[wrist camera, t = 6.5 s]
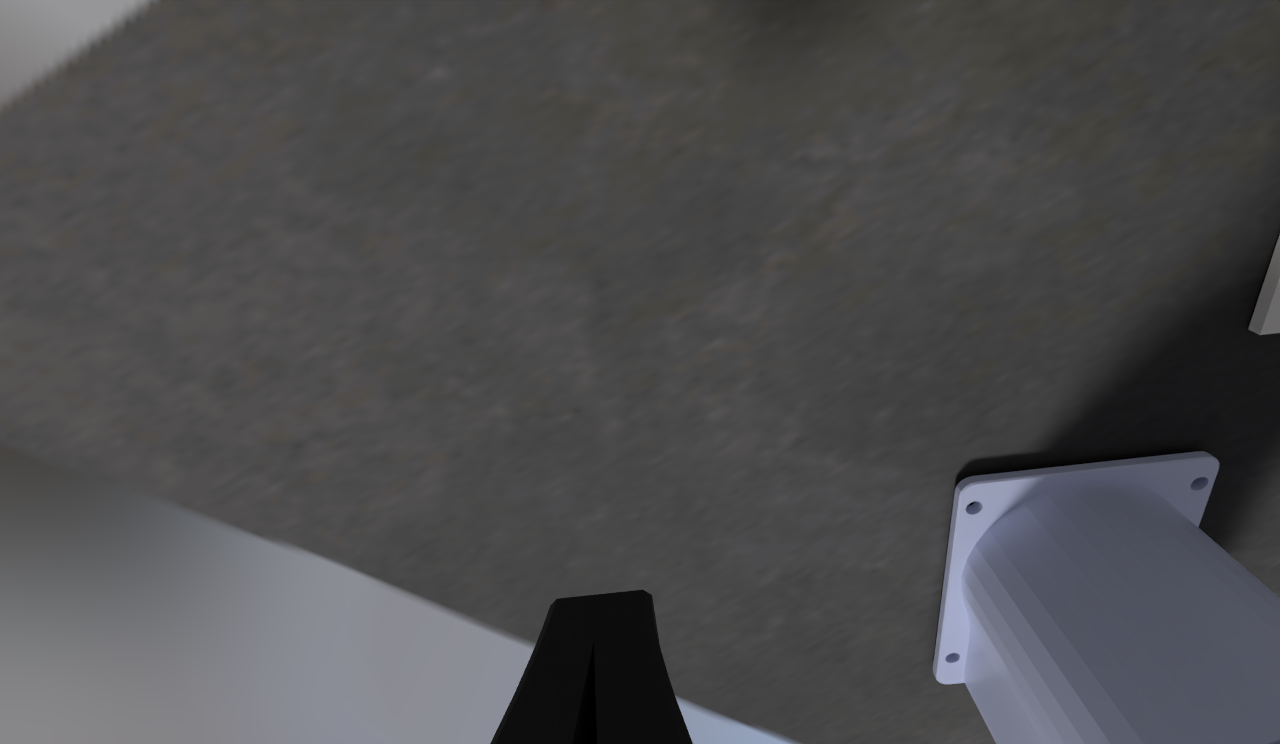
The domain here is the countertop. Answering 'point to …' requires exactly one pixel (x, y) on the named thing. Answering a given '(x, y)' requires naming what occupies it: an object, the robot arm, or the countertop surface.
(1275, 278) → the mat
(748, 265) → the countertop surface
